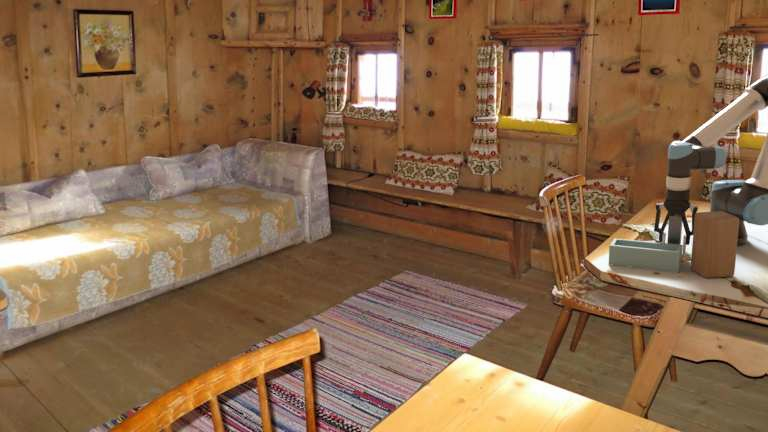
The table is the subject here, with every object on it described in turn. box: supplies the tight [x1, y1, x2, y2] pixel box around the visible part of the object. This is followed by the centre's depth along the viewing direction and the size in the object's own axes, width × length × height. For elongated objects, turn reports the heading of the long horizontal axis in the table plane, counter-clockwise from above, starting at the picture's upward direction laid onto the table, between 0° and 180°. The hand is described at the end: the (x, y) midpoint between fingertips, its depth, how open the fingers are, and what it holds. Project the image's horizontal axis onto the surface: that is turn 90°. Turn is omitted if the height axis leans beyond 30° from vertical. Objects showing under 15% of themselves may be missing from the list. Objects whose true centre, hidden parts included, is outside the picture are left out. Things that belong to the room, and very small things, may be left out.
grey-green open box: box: [608, 238, 683, 273], centre depth 228 cm, size 22×9×7 cm, turn 61°
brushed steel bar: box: [666, 214, 683, 245], centre depth 231 cm, size 4×4×16 cm
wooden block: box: [690, 211, 739, 279], centre depth 215 cm, size 10×10×20 cm
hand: (673, 252), depth 233 cm, fingers open, 6 cm apart
